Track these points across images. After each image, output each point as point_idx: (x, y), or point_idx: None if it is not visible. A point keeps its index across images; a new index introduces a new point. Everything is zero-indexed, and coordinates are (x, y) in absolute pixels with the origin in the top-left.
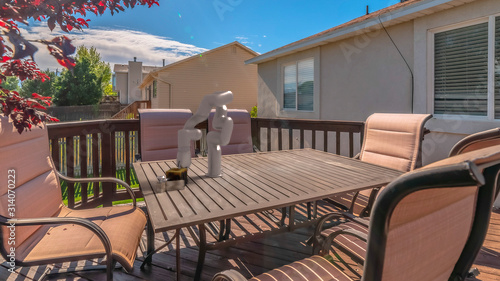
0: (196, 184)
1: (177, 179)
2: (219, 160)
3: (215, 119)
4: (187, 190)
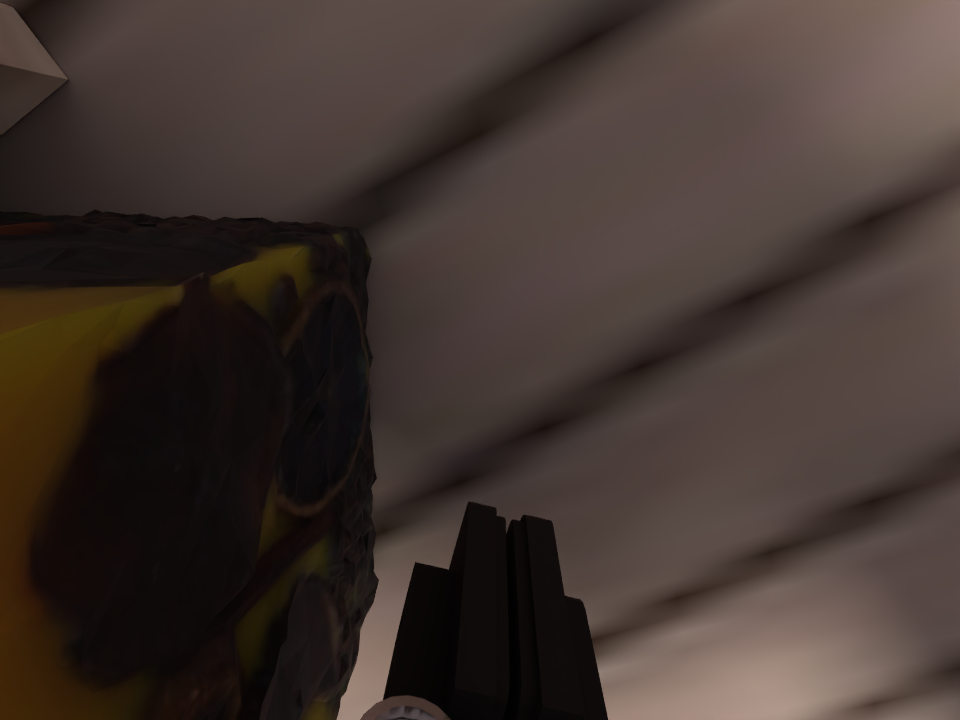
0: None
1: None
2: None
3: None
4: None
